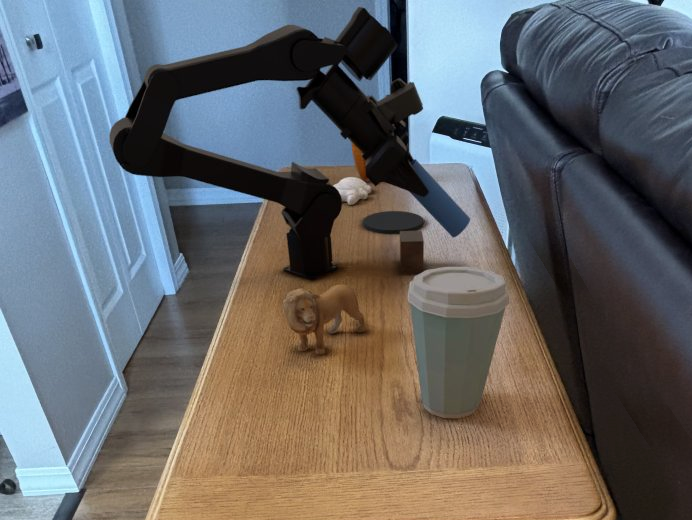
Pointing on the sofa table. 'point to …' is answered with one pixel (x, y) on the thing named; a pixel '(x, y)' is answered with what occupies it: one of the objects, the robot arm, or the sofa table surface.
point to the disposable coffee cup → (455, 335)
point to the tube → (440, 204)
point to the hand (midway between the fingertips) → (426, 190)
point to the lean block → (411, 252)
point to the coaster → (393, 222)
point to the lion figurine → (320, 313)
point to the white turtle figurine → (352, 189)
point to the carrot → (359, 162)
